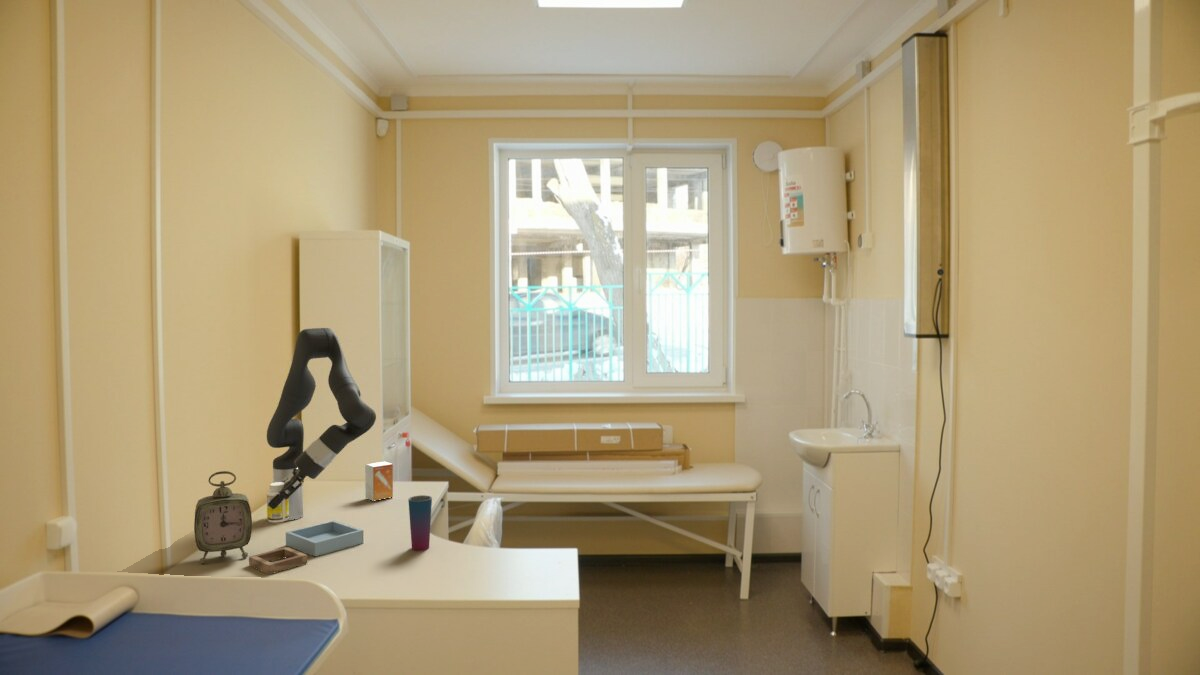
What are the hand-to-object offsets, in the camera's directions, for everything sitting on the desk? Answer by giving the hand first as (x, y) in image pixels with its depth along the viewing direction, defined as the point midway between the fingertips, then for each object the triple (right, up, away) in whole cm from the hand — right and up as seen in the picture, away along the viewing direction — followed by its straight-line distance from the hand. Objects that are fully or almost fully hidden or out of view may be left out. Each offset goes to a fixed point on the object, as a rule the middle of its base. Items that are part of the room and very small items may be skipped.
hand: (271, 503), depth 211 cm
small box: (+9, -14, +72) cm, 74 cm away
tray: (+8, -16, +19) cm, 26 cm away
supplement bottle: (+2, -5, +1) cm, 5 cm away
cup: (+38, -17, +16) cm, 44 cm away
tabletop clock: (-16, -17, +6) cm, 24 cm away
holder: (+1, -17, +1) cm, 17 cm away
